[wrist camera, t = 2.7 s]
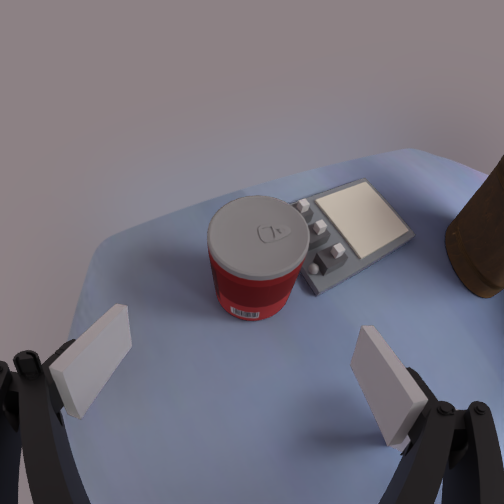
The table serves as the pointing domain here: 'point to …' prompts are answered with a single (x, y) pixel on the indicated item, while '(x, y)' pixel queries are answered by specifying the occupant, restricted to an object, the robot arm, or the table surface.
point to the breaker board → (348, 233)
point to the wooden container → (480, 238)
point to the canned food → (256, 254)
